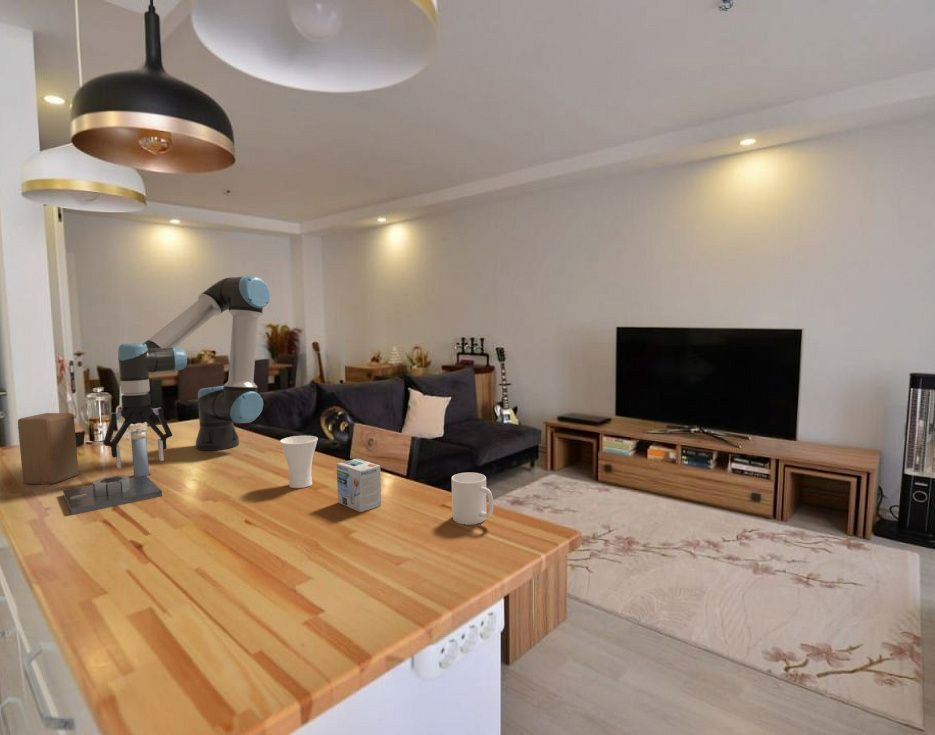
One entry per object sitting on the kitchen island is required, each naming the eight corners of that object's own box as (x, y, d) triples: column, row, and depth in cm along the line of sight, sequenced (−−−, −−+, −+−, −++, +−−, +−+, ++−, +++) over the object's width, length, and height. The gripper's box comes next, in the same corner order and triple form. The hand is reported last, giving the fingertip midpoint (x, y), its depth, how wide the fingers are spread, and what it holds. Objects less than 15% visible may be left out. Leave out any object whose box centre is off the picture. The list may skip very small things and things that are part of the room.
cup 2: (469, 509, 132) (469, 470, 131) (505, 522, 123) (504, 480, 122) (444, 518, 126) (444, 477, 125) (480, 533, 117) (480, 489, 116)
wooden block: (80, 475, 165) (75, 412, 163) (52, 485, 155) (46, 418, 153) (51, 474, 166) (45, 412, 164) (21, 484, 156) (15, 418, 154)
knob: (132, 475, 164) (129, 429, 162) (147, 473, 166) (144, 427, 165) (135, 478, 161) (132, 431, 159) (150, 475, 163) (147, 429, 162)
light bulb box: (336, 503, 138) (335, 463, 136) (358, 496, 142) (356, 457, 141) (361, 513, 130) (359, 470, 129) (382, 505, 135) (381, 465, 134)
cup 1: (290, 493, 145) (288, 445, 144) (276, 484, 153) (274, 439, 152) (325, 485, 152) (324, 439, 151) (310, 477, 160) (308, 433, 159)
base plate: (145, 479, 159) (144, 465, 159) (162, 495, 144) (161, 480, 144) (63, 495, 146) (62, 479, 145) (72, 514, 131) (70, 497, 130)
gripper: (174, 388, 172) (178, 454, 174) (87, 396, 156) (93, 468, 158) (180, 390, 166) (184, 458, 168) (91, 399, 150) (97, 473, 152)
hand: (140, 463), depth 163 cm, fingers open, 11 cm apart
